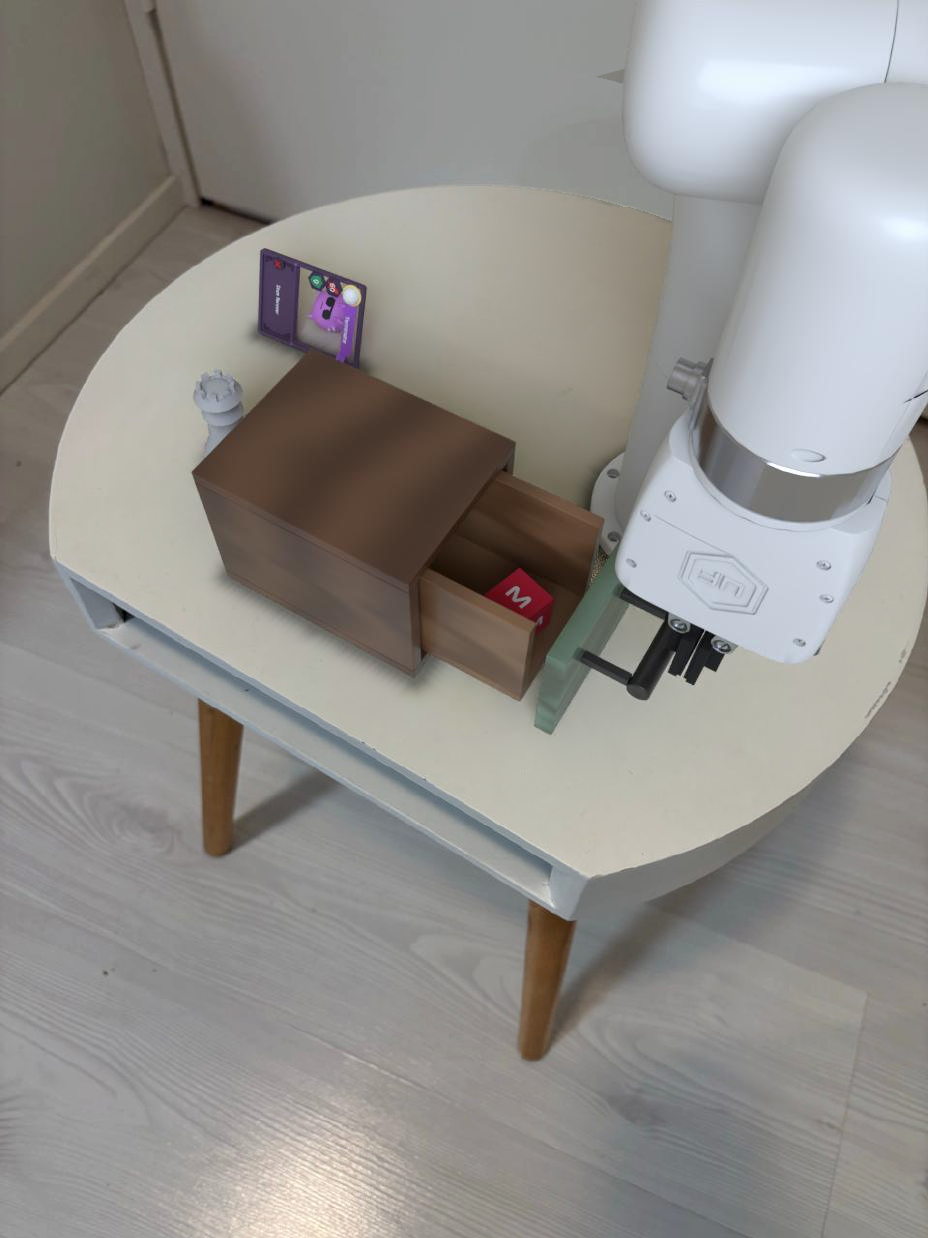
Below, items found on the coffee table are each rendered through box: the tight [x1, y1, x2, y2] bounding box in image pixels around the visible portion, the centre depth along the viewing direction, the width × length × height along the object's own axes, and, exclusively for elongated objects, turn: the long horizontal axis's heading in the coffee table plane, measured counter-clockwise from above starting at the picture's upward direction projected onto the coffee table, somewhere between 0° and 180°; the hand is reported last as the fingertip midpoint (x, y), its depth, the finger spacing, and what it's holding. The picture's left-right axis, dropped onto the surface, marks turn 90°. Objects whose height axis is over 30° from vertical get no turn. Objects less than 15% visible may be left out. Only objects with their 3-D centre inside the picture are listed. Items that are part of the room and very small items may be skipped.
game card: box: [257, 247, 368, 370], centre depth 74 cm, size 7×5×9 cm
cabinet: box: [190, 348, 517, 679], centre depth 61 cm, size 15×12×11 cm
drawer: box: [417, 470, 676, 736], centre depth 58 cm, size 18×11×9 cm, turn 59°
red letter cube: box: [484, 568, 554, 635], centre depth 59 cm, size 3×3×3 cm
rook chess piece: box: [192, 369, 245, 459], centre depth 66 cm, size 4×4×8 cm
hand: (691, 659), depth 53 cm, fingers closed
